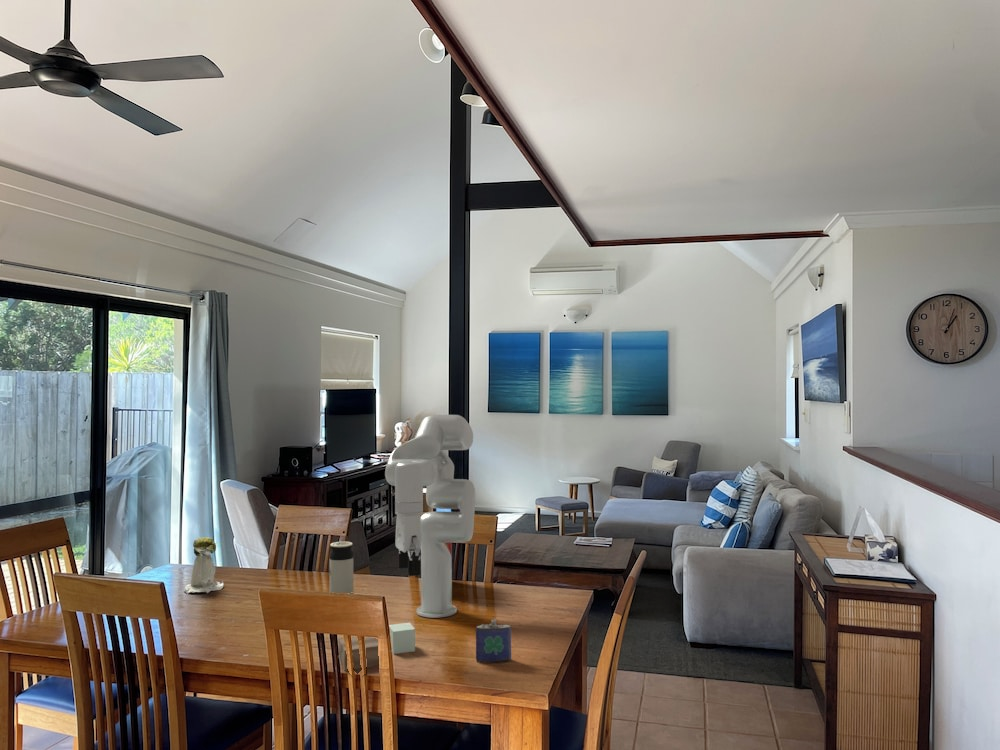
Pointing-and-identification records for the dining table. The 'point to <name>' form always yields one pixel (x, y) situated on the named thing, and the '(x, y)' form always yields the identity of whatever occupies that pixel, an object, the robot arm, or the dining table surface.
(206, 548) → the white figurine
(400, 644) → the sage block
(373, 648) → the walnut block
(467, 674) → the dining table surface
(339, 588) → the travel mug
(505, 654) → the flask
